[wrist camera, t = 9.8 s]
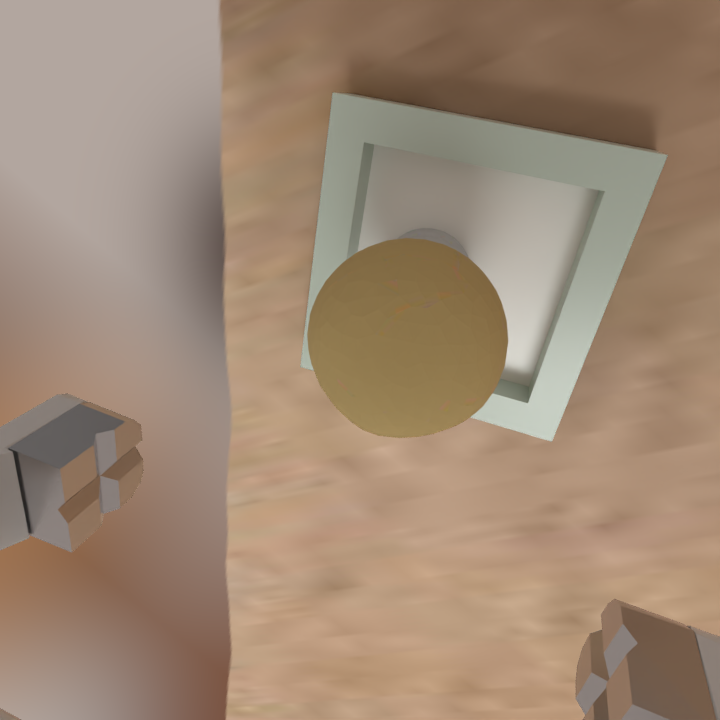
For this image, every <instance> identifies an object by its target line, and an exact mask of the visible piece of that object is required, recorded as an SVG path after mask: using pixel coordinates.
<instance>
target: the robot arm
mask: <svg viewBox="0 0 720 720" xmlns="http://www.w3.org/2000/svg"><path fill="white" fill-rule="evenodd" d="M141 441H142V431H141V425H140V424H139V423H137V422H136V421H135V420H133V419H131V418H128V417H126V416H123V415H121V414H118V413H116V412H113V411H111V410H108V409H106V408H103V407H101V406H98V405H96V404H93V403H91V402H86V401H84V400H82V399H79V398H77V397H74V396H72V395H70V394H59V395H56V396H54V397H52V398H51V399H49V400H47V401H45V402H43V403H42V404H40V405H38V406H36V407H35V408H33V409H31V410H29V411H28V412H26V413H24V414H22V415H21V416H19V417H17V418H16V419H14V420H12V421H10V422H8V423H7V424H5V425H3V426H2V427H0V550H2V549H4V548H6V547H9V546H11V545H14V544H16V543H18V542H21V541H23V540H25V539H28V538H29V535H31V536H33V537H36V538H38V539H40V540H43V541H45V542H48V543H50V544H53V545H55V546H58V547H60V548H62V549H65V550H67V551H70V552H73V551H74V550H75V549H76V548H77V547H78V546H79V545H81V544H82V543H83V542H84V541H85V540H86V539H87V538H88V537H89V536H90V535H91V534H93V533H94V532H95V531H96V530H97V529H98V528H99V527H100V526H101V525H102V519H103V514H104V513H107V512H110V511H113V510H116V509H119V508H121V507H122V506H123V505H124V504H125V503H126V502H127V501H128V500H129V499H130V498H131V497H132V496H133V494H134V492H135V490H136V489H137V487H138V486H139V484H140V482H141V478H142V474H143V458H142V457H141V455H140V454H139V452H138V450H137V449H136V446H137V445H138V444H139V443H140V442H141ZM601 620H602V630H600V631H597V632H594V633H591V634H589V636H588V638H587V640H586V642H585V644H584V646H583V648H582V651H581V654H580V658H579V661H578V665H577V673H576V700H577V702H578V703H579V705H580V707H581V708H582V710H583V712H584V714H585V717H584V718H583V720H720V637H719V636H716V635H714V634H711V633H708V632H705V631H702V630H700V629H697V628H694V627H691V626H686V625H684V624H682V623H680V622H677V621H674V620H671V619H669V618H666V617H663V616H660V615H658V614H655V613H652V612H649V611H647V610H644V609H641V608H638V607H636V606H633V605H630V604H627V603H625V602H622V601H619V600H616V599H614V600H612V601H611V602H609V603H608V604H607V606H606V608H605V609H604V611H603V612H602V614H601ZM0 720H21V719H19V718H17V717H16V716H14V715H12V714H10V713H8V712H6V711H4V710H3V709H1V708H0Z"/></svg>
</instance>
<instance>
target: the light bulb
mask: <svg viewBox="0 0 720 720" xmlns="http://www.w3.org/2000/svg"><path fill="white" fill-rule="evenodd" d="M307 338H308V351H309V355H310V360H311V364H312V367H313V369H314V372H315V374H316V376H317V379H318V381H319V384H320V386H321V387H322V389H323V390H324V392H325V393H326V395H327V396H328V397H329V399H330V400H331V402H332V403H333V404H334V406H335V407H336V408H337V409H338V410H339V411H340V412H341V413H342V414H343V415H344V416H345V417H346V418H348V419H349V420H350V421H351V422H352V423H354V424H355V425H356V426H358V427H359V428H361V429H363V430H365V431H367V432H370V433H372V434H375V435H378V436H387V437H397V438H405V437H420V436H425V435H430V434H434V433H437V432H440V431H443V430H446V429H448V428H451V427H454V426H456V425H458V424H460V423H462V422H464V421H465V420H467V419H468V418H470V417H471V416H473V415H474V414H475V413H476V412H477V411H478V410H479V409H481V408H482V407H483V406H484V404H485V403H486V402H487V400H488V399H489V398H490V396H491V395H492V393H493V392H494V390H495V388H496V387H497V385H498V382H499V380H500V377H501V374H502V372H503V369H504V367H505V361H506V354H507V347H508V330H507V320H506V316H505V312H504V309H503V305H502V302H501V300H500V298H499V295H498V293H497V291H496V289H495V288H494V286H493V285H492V283H491V282H490V280H489V279H488V277H487V276H486V275H485V273H484V272H483V271H482V270H481V269H480V268H479V267H478V266H477V265H476V264H475V263H474V262H473V261H471V260H470V259H469V258H468V255H467V253H466V251H465V249H464V248H463V246H462V245H461V244H460V243H459V242H458V241H457V240H456V239H455V238H454V237H453V236H451V235H449V234H448V233H446V232H444V231H441V230H437V229H433V228H420V229H415V230H411V231H409V232H407V233H405V234H403V235H402V236H400V237H398V238H397V239H394V240H387V241H384V242H381V243H378V244H375V245H372V246H369V247H367V248H365V249H363V250H361V251H359V252H357V253H355V254H354V255H353V256H351V257H350V258H348V259H347V260H346V261H344V262H343V263H342V264H341V265H340V266H339V267H338V268H337V269H336V270H335V271H334V272H333V273H332V274H331V275H330V276H329V278H328V279H327V280H326V281H325V283H324V285H323V286H322V288H321V290H320V291H319V293H318V295H317V297H316V300H315V302H314V305H313V307H312V310H311V313H310V318H309V325H308V332H307Z"/></svg>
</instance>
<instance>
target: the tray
mask: <svg viewBox="0 0 720 720" xmlns="http://www.w3.org/2000/svg"><path fill="white" fill-rule="evenodd" d="M667 156H668V155H666V154H664V153H661V152H659V151H656V150H652V149H646V148H641V147H636V146H630V145H625V144H619V143H614V142H609V141H603V140H598V139H593V138H587V137H582V136H577V135H571V134H566V133H560V132H555V131H550V130H544V129H539V128H534V127H528V126H523V125H518V124H512V123H507V122H502V121H496V120H491V119H485V118H480V117H475V116H469V115H464V114H459V113H453V112H448V111H443V110H437V109H432V108H426V107H421V106H416V105H410V104H405V103H400V102H394V101H389V100H384V99H378V98H373V97H368V96H362V95H357V94H351V93H334V92H333V94H332V102H331V111H330V119H329V128H328V136H327V145H326V153H325V162H324V170H323V179H322V187H321V196H320V204H319V213H318V221H317V230H316V238H315V247H314V255H313V264H312V272H311V281H310V289H309V298H308V306H307V315H306V323H305V332H304V340H303V349H302V357H301V366H300V367H303V368H306V369H309V370H313V371H314V369H313V367H312V364H311V360H310V355H309V351H308V338H307V332H308V325H309V318H310V313H311V310H312V307H313V305H314V302H315V300H316V297H317V295H318V293H319V291H320V290H321V288H322V286H323V285H324V283H325V281H326V280H327V279H328V278H329V276H330V275H331V274H332V273H333V272H334V271H335V270H336V269H337V268H338V267H339V266H340V265H341V264H342V263H343V262H344V261H346V260H347V259H348V258H350V257H351V256H353V255H354V254H355V253H357V252H359V251H361V250H363V249H365V248H367V247H369V246H372V245H375V244H378V243H381V242H384V241H387V240H394V239H397V238H398V237H400V236H402V235H403V234H405V233H407V232H409V231H411V230H415V229H420V228H433V229H437V230H441V231H444V232H446V233H448V234H449V235H451V236H453V237H454V238H455V239H456V240H457V241H458V242H459V243H460V244H461V245H462V246H463V248H464V249H465V251H466V253H467V255H468V258H469V259H470V260H471V261H473V262H474V263H475V264H476V265H477V266H478V267H479V268H480V269H481V270H482V271H483V272H484V273H485V275H486V276H487V277H488V279H489V280H490V282H491V283H492V285H493V286H494V288H495V289H496V291H497V293H498V295H499V298H500V300H501V302H502V305H503V309H504V312H505V316H506V320H507V330H508V347H507V354H506V361H505V367H504V369H503V372H502V374H501V377H500V380H499V382H498V385H497V387H496V388H495V390H494V392H493V393H492V395H491V396H490V398H489V399H488V400H487V402H486V403H485V404H484V406H483V407H482V408H481V409H479V410H478V411H477V412H476V413H475V414H474V415H473V416H471V418H474V419H477V420H481V421H484V422H487V423H491V424H494V425H498V426H501V427H504V428H508V429H511V430H514V431H518V432H521V433H524V434H528V435H531V436H535V437H538V438H541V439H545V440H548V441H551V442H552V440H553V438H554V435H555V433H556V430H557V428H558V425H559V423H560V420H561V418H562V415H563V413H564V410H565V408H566V405H567V403H568V400H569V398H570V396H571V393H572V391H573V388H574V386H575V383H576V381H577V378H578V376H579V373H580V371H581V368H582V366H583V363H584V361H585V359H586V356H587V354H588V351H589V349H590V346H591V344H592V341H593V339H594V336H595V334H596V331H597V329H598V326H599V324H600V321H601V319H602V317H603V314H604V312H605V309H606V307H607V304H608V302H609V299H610V297H611V294H612V292H613V289H614V287H615V284H616V282H617V279H618V277H619V275H620V272H621V270H622V267H623V265H624V262H625V260H626V257H627V255H628V252H629V250H630V247H631V245H632V242H633V240H634V237H635V235H636V233H637V230H638V228H639V225H640V223H641V220H642V218H643V215H644V213H645V210H646V208H647V205H648V203H649V200H650V198H651V195H652V193H653V191H654V188H655V186H656V183H657V181H658V178H659V176H660V173H661V171H662V168H663V166H664V163H665V161H666V158H667Z"/></svg>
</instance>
